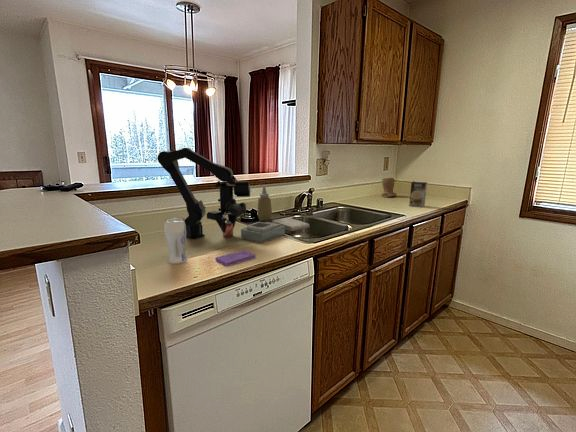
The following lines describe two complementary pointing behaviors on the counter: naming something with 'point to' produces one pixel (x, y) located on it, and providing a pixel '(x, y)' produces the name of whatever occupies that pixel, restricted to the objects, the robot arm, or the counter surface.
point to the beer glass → (176, 239)
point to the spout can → (228, 229)
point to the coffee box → (418, 194)
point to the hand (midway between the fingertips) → (227, 231)
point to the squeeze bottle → (264, 206)
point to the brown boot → (388, 187)
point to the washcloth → (291, 224)
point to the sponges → (235, 257)
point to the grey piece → (262, 231)
